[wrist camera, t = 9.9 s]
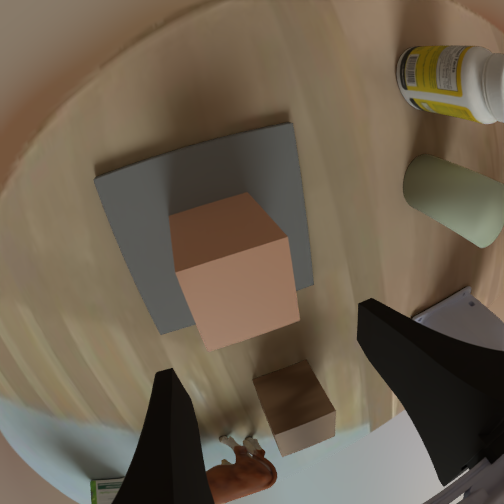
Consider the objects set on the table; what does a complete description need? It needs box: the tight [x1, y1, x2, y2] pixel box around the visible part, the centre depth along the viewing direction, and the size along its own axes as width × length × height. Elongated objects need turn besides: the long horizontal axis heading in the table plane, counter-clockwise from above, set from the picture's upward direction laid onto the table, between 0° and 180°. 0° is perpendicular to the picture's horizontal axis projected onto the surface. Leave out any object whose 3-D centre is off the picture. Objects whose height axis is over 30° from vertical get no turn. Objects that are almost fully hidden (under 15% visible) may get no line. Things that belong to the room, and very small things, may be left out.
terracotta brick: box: [169, 192, 300, 352], centre depth 16 cm, size 4×4×6 cm
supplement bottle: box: [396, 46, 504, 124], centre depth 14 cm, size 5×5×8 cm
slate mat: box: [94, 122, 314, 335], centre depth 18 cm, size 11×11×1 cm
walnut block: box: [252, 360, 336, 457], centre depth 25 cm, size 5×5×6 cm
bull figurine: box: [206, 436, 277, 504], centre depth 27 cm, size 4×13×8 cm, turn 109°
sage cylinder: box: [403, 154, 504, 248], centre depth 18 cm, size 4×4×7 cm
